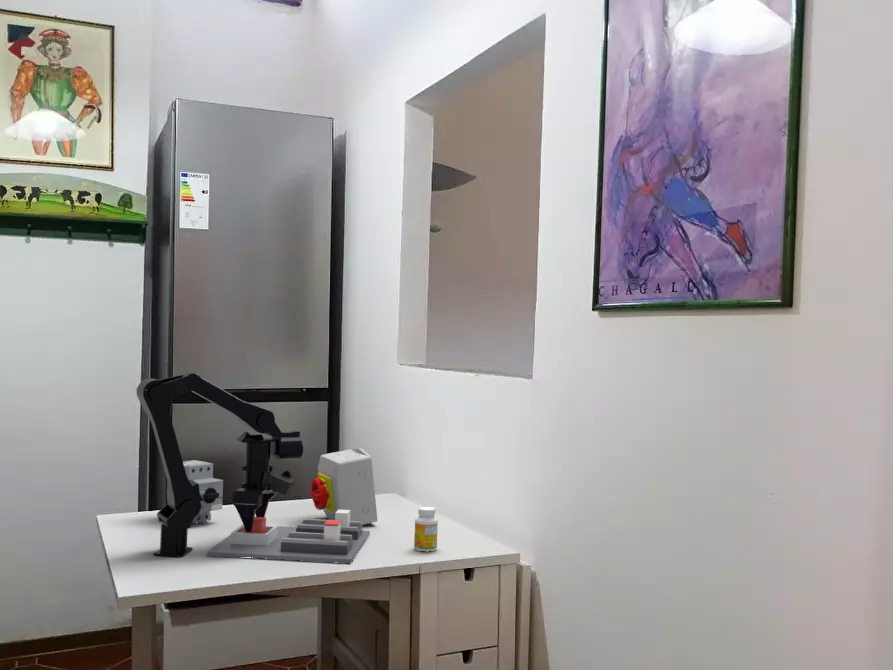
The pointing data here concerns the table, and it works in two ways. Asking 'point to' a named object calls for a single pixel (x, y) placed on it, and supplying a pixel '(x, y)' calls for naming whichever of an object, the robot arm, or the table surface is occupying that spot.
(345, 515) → the toggle
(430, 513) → the supplement bottle
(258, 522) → the coral foam cube
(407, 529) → the table surface
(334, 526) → the toggle
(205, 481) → the circuit breaker
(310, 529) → the panel
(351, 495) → the electrical switch box
